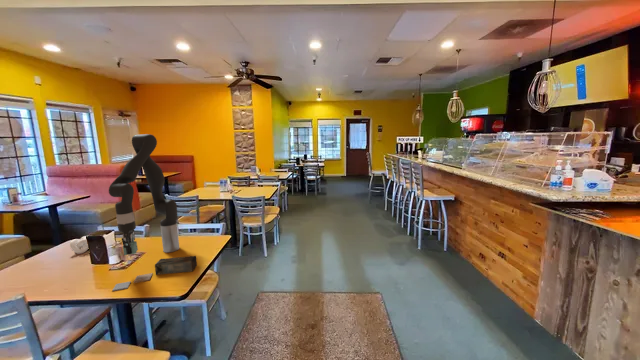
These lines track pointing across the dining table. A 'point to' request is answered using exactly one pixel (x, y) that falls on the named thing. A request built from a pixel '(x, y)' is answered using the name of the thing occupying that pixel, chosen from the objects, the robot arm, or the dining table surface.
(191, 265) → the beverage carton
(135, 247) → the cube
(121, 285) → the pad
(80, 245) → the white crumpled lump
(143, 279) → the pad
